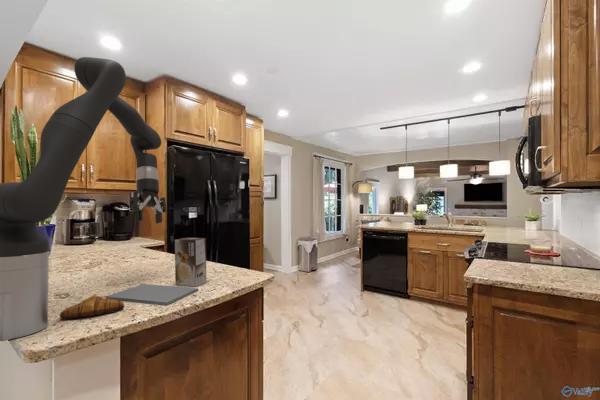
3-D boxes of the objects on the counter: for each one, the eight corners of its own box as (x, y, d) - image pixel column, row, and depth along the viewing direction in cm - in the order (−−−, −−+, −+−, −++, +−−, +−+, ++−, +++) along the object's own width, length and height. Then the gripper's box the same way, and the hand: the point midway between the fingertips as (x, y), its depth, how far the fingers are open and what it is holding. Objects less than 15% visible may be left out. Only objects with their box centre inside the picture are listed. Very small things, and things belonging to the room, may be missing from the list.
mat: (166, 305, 79) (166, 302, 79) (105, 299, 85) (105, 296, 85) (198, 290, 92) (198, 288, 92) (143, 286, 98) (143, 283, 98)
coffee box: (207, 282, 103) (207, 237, 103) (196, 287, 97) (196, 239, 97) (186, 280, 105) (186, 237, 106) (174, 285, 99) (174, 239, 100)
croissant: (124, 306, 79) (124, 288, 79) (123, 314, 73) (123, 294, 73) (62, 315, 72) (62, 296, 73) (56, 325, 67) (56, 304, 67)
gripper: (139, 173, 100) (140, 218, 97) (169, 182, 113) (172, 221, 110) (123, 178, 102) (124, 222, 99) (155, 186, 116) (157, 225, 112)
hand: (149, 222), depth 104 cm, fingers open, 8 cm apart
